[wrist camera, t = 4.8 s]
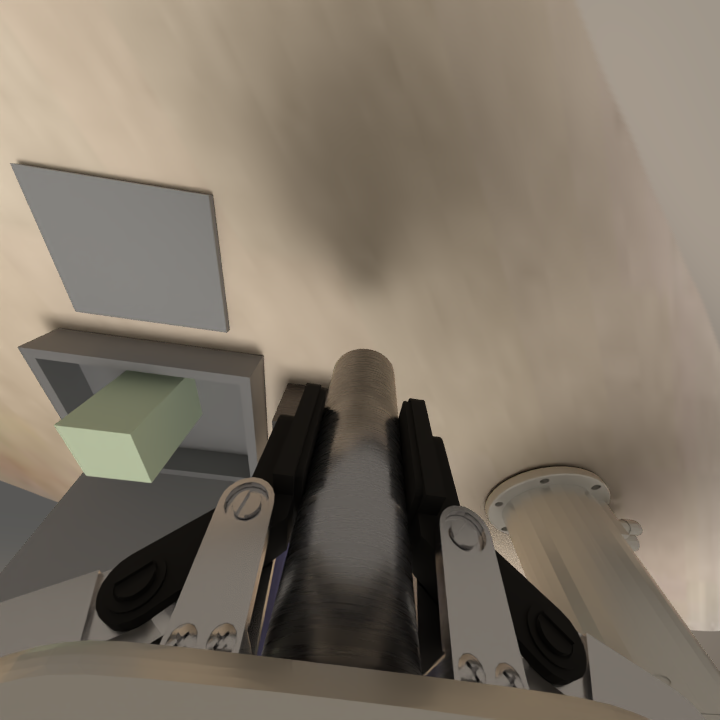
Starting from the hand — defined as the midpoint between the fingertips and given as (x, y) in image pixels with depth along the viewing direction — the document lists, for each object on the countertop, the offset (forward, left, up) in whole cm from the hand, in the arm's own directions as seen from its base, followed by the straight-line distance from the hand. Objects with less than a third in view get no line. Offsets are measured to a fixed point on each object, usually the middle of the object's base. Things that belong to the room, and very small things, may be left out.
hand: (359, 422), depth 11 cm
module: (+16, +10, -11) cm, 21 cm away
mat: (+16, -2, -11) cm, 19 cm away
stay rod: (0, 0, -3) cm, 3 cm away
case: (+16, +12, -11) cm, 22 cm away
